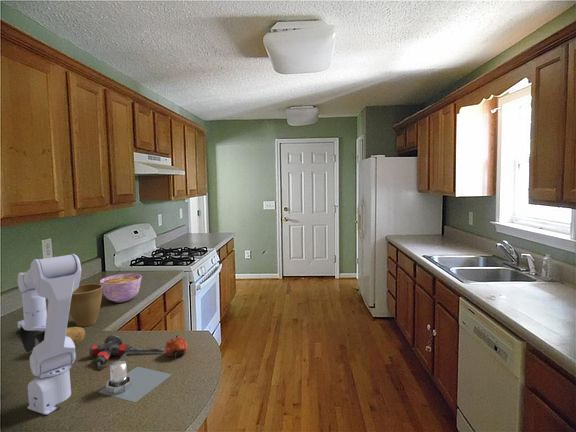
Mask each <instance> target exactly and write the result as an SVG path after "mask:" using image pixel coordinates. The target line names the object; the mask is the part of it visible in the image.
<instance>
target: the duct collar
mask: <svg viewBox="0 0 576 432" xmlns="http://www.w3.org/2000/svg"><path fill="white" fill-rule="evenodd" d="M127 382H128V383H126V384H125V385H123V386H118V387H111V378H110V379H109V380H107V381H106V384H105V387H106V392H107V393H109V394H113V395H114V394H119V393H123V392H126V391H127V390H128V389H130V388H131V387H132V376H128V375H127Z"/></svg>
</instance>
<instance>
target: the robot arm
mask: <svg viewBox="0 0 576 432" xmlns="http://www.w3.org/2000/svg"><path fill="white" fill-rule="evenodd" d="M81 265H82V264H81V260H80V258H79V256H78V255H76V254H75V253H70V254H67V255H60V256H53V257H47V258H46V257H45V258H41V259H39V258H33V260H32V261H31V263H30V268H29V269H28V270H26V272H25V271H24V272H18V274H17V285H18V289H19V291H20V293H21V300H22V311H23V314H22V315H23V319H22V320H19V321H17V328H18V329H19V330H16V331H15V335H16V336H17V337H18V338H19V339H20V341H21V343H22V346H23V348H24V350H25V352H26V353H30V352H31V354H30V356H29V366H30V371H31V373H32V375H34V376H36V377H35V378H34V379H33V380H31V381H29V383H28V384H27V397H28V406H27V409H28V410H30V411H33V412H37V413H38V414H42V415H45V416H46V415H50V414H51V413H52V412H54V411H56V410H57V409H59V408H60V406H59V405H58V404H61V403H63V402H64V401H66V400H68V399H69V398H70V397H71V396H72V385H71V372H70V371H71V370H70V369H71V368H72V364H74V363H75V361H76V359H77V358H76V356H77V354H76V345H74V342H73V341H72V339H71V338H70V337H67V336H66V330H67V328H68V322H69V315H70V312H69V310H70V303H71V297H72V293H73V292H74V291H75V290H76V289H77V288H78V287H79V285H80V283H81V277H82V266H81ZM46 299H47V300H46ZM46 301H48V303H47V302H46ZM37 331H38V332H41V333H40V334H37ZM36 340H37V342H38V344H37V345H36Z"/></svg>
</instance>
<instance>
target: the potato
mask: <svg viewBox="0 0 576 432" xmlns="http://www.w3.org/2000/svg"><path fill="white" fill-rule="evenodd" d="M66 336H67V337H70V338H71V339H72V341H73V342H74V345H75V346H77V345H78V344H80V343H81V342H82V341H83V340H84V338H85V336H86V331H85V329H84V327H78V326H71V327H68V326H67V330H66Z"/></svg>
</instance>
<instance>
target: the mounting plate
mask: <svg viewBox="0 0 576 432" xmlns="http://www.w3.org/2000/svg"><path fill="white" fill-rule="evenodd" d="M127 375H128V376H132V387H131V388H130V389H128V390H127V391H126V392H123V393H119V394H114V395H113V394H109V393H107V392H106V386H105V387H104V388H102V389H101V390H99V391H98V393H100V394H103V395H106V396H111V397H113V398H117V399H121V400H124V401H128V402H132V403H137V402H138V401H140V400H141V399H142V398H143V397H144V396H146V395H147V394H149V393H150V392H151V391H152V390H154V389H155V388H156V387H158V386H159V385H161V383H164V381H166V380H167V379H168V378H169V377H171V376H172V373H167V372H164V371H158V370H154V369H150V368H145V367H140V366H136V367H134V368H133V369H131V370H130V371H129V372H128V371H127Z"/></svg>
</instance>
